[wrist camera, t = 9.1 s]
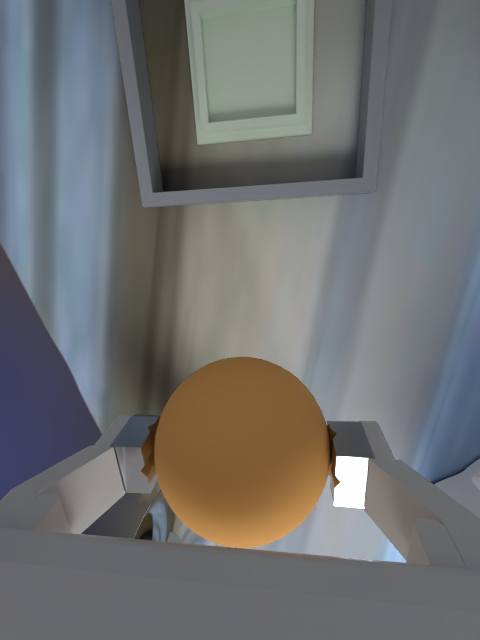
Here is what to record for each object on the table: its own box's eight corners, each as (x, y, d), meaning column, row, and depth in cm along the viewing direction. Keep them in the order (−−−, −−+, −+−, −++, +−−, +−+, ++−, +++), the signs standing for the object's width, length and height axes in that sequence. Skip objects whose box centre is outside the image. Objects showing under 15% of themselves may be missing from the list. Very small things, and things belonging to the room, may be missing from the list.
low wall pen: (391, -127, 19) (407, -175, 16) (367, 193, 25) (376, 191, 22) (115, -71, 21) (94, -106, 19) (154, 207, 27) (142, 207, 25)
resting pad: (314, -18, 21) (315, -30, 20) (311, 134, 24) (312, 131, 23) (185, 3, 22) (180, -8, 21) (198, 145, 25) (194, 142, 24)
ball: (320, 330, 11) (355, 434, 6) (316, 450, 13) (341, 607, 8) (175, 332, 12) (97, 426, 7) (191, 445, 14) (140, 586, 9)
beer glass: (193, 416, 34) (133, 558, 20) (246, 446, 35) (222, 605, 21) (167, 454, 37) (96, 605, 23) (216, 482, 37) (176, 646, 23)
